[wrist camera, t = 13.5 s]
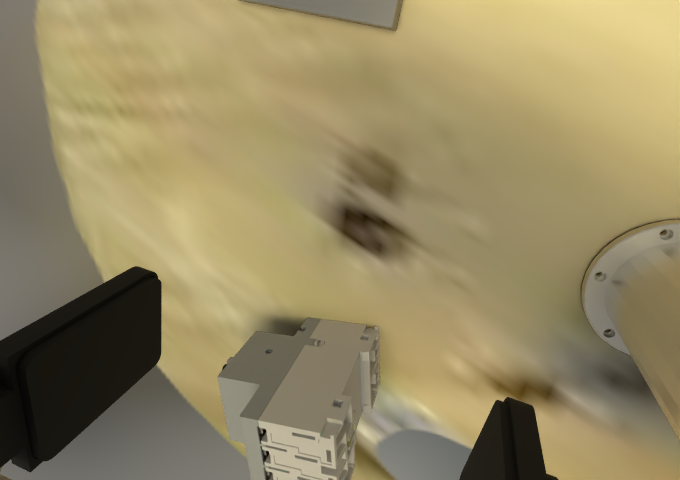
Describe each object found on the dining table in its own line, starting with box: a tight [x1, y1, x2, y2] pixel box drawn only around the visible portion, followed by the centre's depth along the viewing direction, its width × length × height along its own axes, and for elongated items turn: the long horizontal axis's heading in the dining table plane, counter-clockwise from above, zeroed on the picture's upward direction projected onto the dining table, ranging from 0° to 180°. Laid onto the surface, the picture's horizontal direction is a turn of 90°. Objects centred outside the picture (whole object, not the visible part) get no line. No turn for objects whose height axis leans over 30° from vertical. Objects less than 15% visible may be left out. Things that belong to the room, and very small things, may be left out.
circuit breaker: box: [218, 318, 380, 480], centre depth 40 cm, size 8×14×15 cm, turn 93°
